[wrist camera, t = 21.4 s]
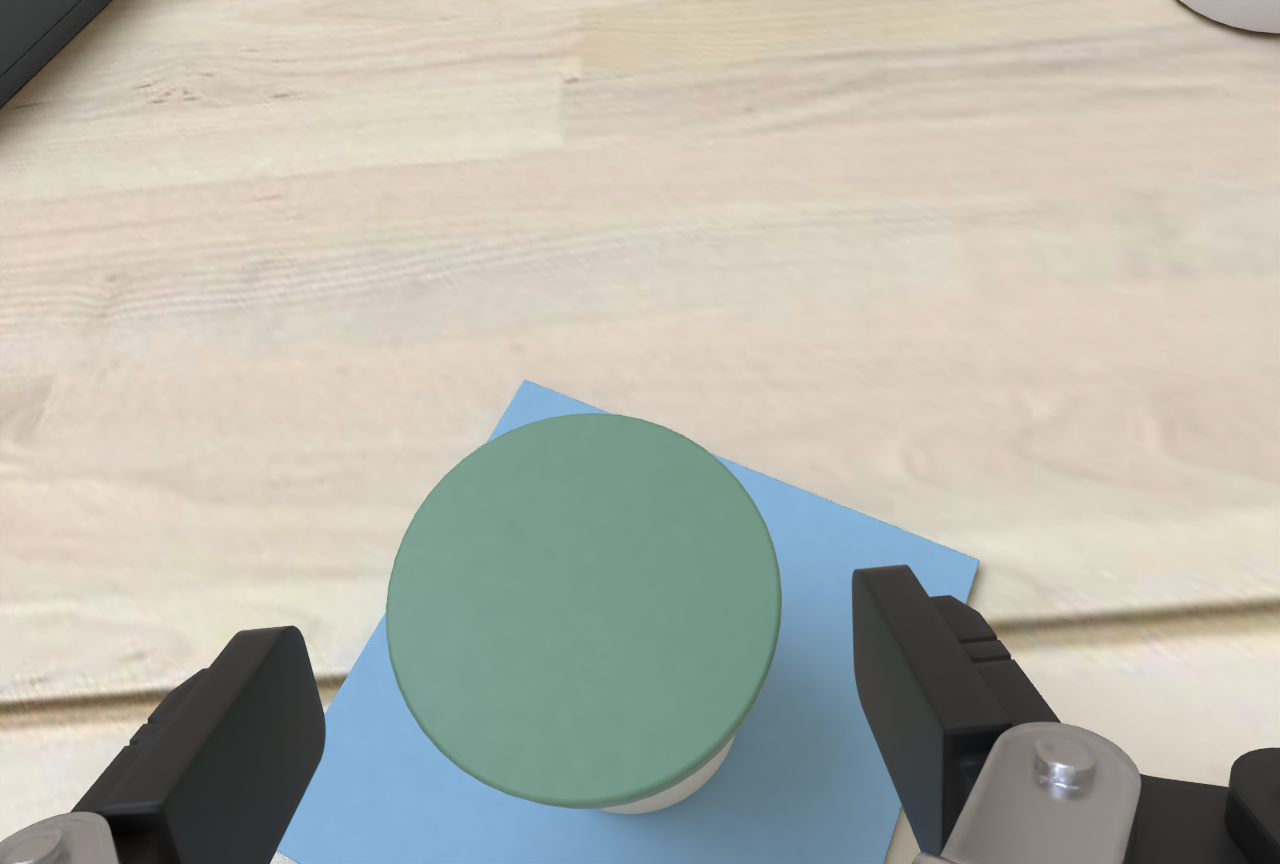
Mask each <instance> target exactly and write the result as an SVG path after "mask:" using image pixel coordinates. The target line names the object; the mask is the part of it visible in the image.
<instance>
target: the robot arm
mask: <svg viewBox="0 0 1280 864" xmlns="http://www.w3.org/2000/svg"><path fill="white" fill-rule="evenodd" d="M852 620H853V659H854V673H855V680H856V686H857V691H858V696H859V699H860V703H861V706H862V709H863V711H864V714H865V716H866V719H867V721H868V723H869V726H870V728H871V731H872V733H873V736H874V738H875V741H876V743H877V745H878V748H879V750H880V753H881V755H882V758H883V760H884V762H885V765H886V767H887V770H888V772H889V775H890V777H891V779H892V782H893V784H894V787H895V789H896V792H897V794H898V797H899V799H900V801H901V804H902V806H903V809H904V811H905V814H906V816H907V818H908V821H909V823H910V826H911V828H912V831H913V833H914V835H915V838H916V840H917V843H918V845H919V848H920V850H921V852H920V853H919V854H918V855H917V857H916V858H915V860H914V861H913V863H912V864H1280V748H1264V749H1258V750H1254V751H1250V752H1248V753H1246V754H1244V755H1242V756H1240V757H1239V758H1238V759H1237V760H1236V761H1235V762H1234V764H1233V766H1232V768H1231V773H1230V780H1229V787H1223V786H1216V785H1208V784H1201V783H1194V782H1186V781H1179V780H1171V779H1164V778H1158V777H1152V776H1147V775H1143V774H1140V773H1139V771H1138V769H1137V767H1136V765H1135V764H1134V762H1133V761H1132V760H1131V758H1130V757H1129V756H1128V755H1127V754H1126V753H1125V752H1124V751H1123V750H1122V749H1121V748H1119V747H1118V746H1117V745H1115V744H1114V743H1112V742H1111V741H1109V740H1107V739H1106V738H1104V737H1102V736H1100V735H1098V734H1096V733H1094V732H1091V731H1089V730H1086V729H1083V728H1080V727H1077V726H1072V725H1068V724H1063V723H1061V722H1060V720H1059V719H1058V718H1057V716H1056V715H1055V714H1054V712H1053V711H1052V710H1051V708H1050V707H1049V706H1048V704H1047V703H1046V702H1045V700H1044V699H1043V698H1042V696H1041V695H1040V694H1039V692H1038V691H1037V689H1036V688H1035V687H1034V685H1033V684H1032V683H1031V681H1030V680H1029V679H1028V677H1027V676H1026V675H1025V673H1024V672H1023V671H1022V669H1021V668H1020V667H1019V665H1018V664H1017V663H1016V661H1015V660H1012V659H1011V654H1010V653H1009V652H1008V650H1007V649H1006V648H1005V646H1004V645H1003V644H1002V642H1001V641H1000V640H997V636H996V634H995V633H994V632H993V630H992V629H991V627H990V626H989V625H988V623H987V622H986V621H985V619H984V618H983V617H982V615H981V614H980V613H979V612H977V611H976V610H974V609H972V608H971V607H969V606H968V605H966V604H964V603H963V602H961V601H959V600H958V599H956V598H955V597H953V596H951V595H944V596H934V597H929V596H928V594H927V593H926V591H925V589H924V588H923V586H922V585H921V583H920V582H919V580H918V579H917V577H916V576H915V574H914V573H913V571H912V570H911V568H910V567H909V566H908V565H906V564H902V565H892V566H882V567H872V568H862V569H855V570H854V571H853V574H852ZM325 739H326V723H325V716H324V712H323V708H322V704H321V701H320V697H319V693H318V689H317V686H316V682H315V678H314V674H313V671H312V667H311V663H310V659H309V656H308V652H307V648H306V645H305V641H304V638H303V636H302V633H301V632H300V630H299V629H298V628H297V627H295V626H283V627H273V628H263V629H252V630H243V631H240V632H238V633H237V634H236V635H235V636H234V637H233V638H232V639H231V641H230V642H229V643H228V644H227V646H226V647H225V648H224V649H223V651H222V652H221V653H220V654H219V656H218V657H217V658H216V659H215V661H214V662H213V663H212V664H211V666H210V667H209V668H207V669H202V670H200V671H199V672H197V673H196V674H195V675H193V676H192V677H191V678H189V679H188V680H186V681H185V682H184V683H182V684H181V685H179V686H178V687H177V688H175V689H174V690H173V691H171V692H170V693H169V694H168V695H167V696H166V697H165V699H164V700H163V701H162V702H161V703H160V705H159V706H158V707H157V708H156V709H155V711H154V712H153V713H152V714H151V715H150V717H149V718H148V723H147V724H143V725H142V726H141V727H140V729H139V730H138V731H137V732H136V733H135V735H134V736H133V737H132V738H131V739H130V745H129V746H125V747H124V748H123V749H122V750H121V752H120V753H119V754H118V755H117V756H116V758H115V759H114V760H113V761H112V762H111V764H110V765H109V766H108V767H107V768H106V770H105V771H104V772H103V773H102V774H101V776H100V777H99V778H98V779H97V780H96V782H95V783H94V784H93V785H92V786H91V788H90V789H89V790H88V791H87V792H86V794H85V795H84V796H83V797H82V798H81V800H80V801H79V802H78V803H77V804H76V806H75V807H74V808H73V809H72V811H71V812H70V813H66V814H61V815H57V816H54V817H51V818H47V819H44V820H42V821H39V822H37V823H34V824H32V825H30V826H28V827H26V828H24V829H22V830H20V831H18V832H16V833H15V834H13V835H11V836H9V837H8V838H6V839H5V840H3V841H2V842H0V864H270V862H271V860H272V858H273V856H274V854H275V852H276V850H277V848H278V846H279V844H280V842H281V840H282V838H283V836H284V834H285V832H286V830H287V828H288V826H289V824H290V822H291V820H292V818H293V816H294V814H295V812H296V810H297V808H298V806H299V804H300V802H301V800H302V798H303V796H304V794H305V792H306V790H307V788H308V786H309V784H310V782H311V780H312V778H313V776H314V774H315V772H316V769H317V767H318V765H319V763H320V761H321V759H322V756H323V752H324V747H325Z"/></svg>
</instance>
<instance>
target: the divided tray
mask: <svg viewBox="0 0 1280 864" xmlns="http://www.w3.org/2000/svg"><path fill="white" fill-rule="evenodd" d="M110 1H111V0H0V107H1V106H2V105H3V104H5V103H6V102H7V101H8V100H9V99H10V98H11V97H12V96H13V95H14V94H15V93H16V92H17V91H18V90H19V89H20V88H21V87H22V86H23V85H24V84H25V83H26V82H27V81H28V80H29V79H30V78H31V77H32V76H33V75H34V74H35V73H37V72H38V71H39V70H40V69H41V68H42V67H43V66H44V65H45V64H46V63H47V62H48V61H49V60H50V59H51V58H52V57H53V56H54V55H55V54H56V53H57V52H58V51H59V50H60V49H61V48H62V47H63V46H64V45H65V44H66V43H67V42H68V41H70V40H71V39H72V38H73V37H74V36H75V35H76V34H77V33H78V32H79V31H80V30H81V29H82V28H83V27H84V26H85V25H86V24H87V23H88V22H89V21H90V20H91V19H92V18H93V17H94V16H95V15H96V14H97V13H98V12H99V11H100V10H102V9H103V8H104V7H105V6H106V5H107V4H108V3H109V2H110Z"/></svg>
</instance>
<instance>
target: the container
mask: <svg viewBox="0 0 1280 864" xmlns="http://www.w3.org/2000/svg"><path fill="white" fill-rule="evenodd" d="M781 608H782V591H781V580H780V570H779V565H778V561H777V557H776V552H775V548H774V544H773V542H772V539H771V536H770V534H769V531H768V528H767V526H766V523H765V521H764V519H763V517H762V515H761V514H760V512H759V510H758V508H757V506H756V504H755V502H754V501H753V499H752V498H751V497H750V495H749V494H748V492H747V491H746V490H745V488H744V487H743V485H742V484H741V483H740V481H739V480H738V479H737V478H736V477H735V476H734V475H733V474H732V473H731V472H730V471H729V470H728V468H727V467H726V466H725V465H724V464H723V463H721V462H720V461H719V460H718V459H717V458H715V457H714V456H713V455H712V454H710V453H709V452H708V451H707V450H706V449H704V448H703V447H701V446H699V445H698V444H696V443H695V442H693V441H691V440H690V439H688V438H687V437H685V436H683V435H681V434H679V433H676V432H674V431H672V430H670V429H668V428H666V427H664V426H660V425H657V424H654V423H651V422H648V421H645V420H642V419H637V418H632V417H627V416H622V415H614V414H600V413H588V414H570V415H564V416H558V417H552V418H547V419H543V420H540V421H536V422H533V423H529V424H526V425H524V426H521V427H519V428H516V429H514V430H511V431H509V432H506V433H504V434H502V435H500V436H499V437H497V438H495V439H493V440H491V441H490V442H488V443H486V444H484V445H483V446H481V447H480V448H478V449H477V450H476V451H474V452H473V453H471V454H470V455H468V456H467V457H466V458H464V459H463V460H462V461H461V462H460V463H459V464H458V465H456V466H455V467H454V468H453V469H452V470H451V471H450V472H449V473H447V474H446V475H445V477H444V478H443V479H442V480H441V481H440V482H439V483H438V484H437V486H436V487H435V488H434V489H433V490H432V491H431V492H430V494H429V495H428V496H427V498H426V499H425V501H424V502H423V504H422V505H421V507H420V508H419V509H418V511H417V512H416V514H415V516H414V518H413V520H412V521H411V523H410V525H409V527H408V529H407V531H406V533H405V535H404V537H403V540H402V542H401V545H400V547H399V550H398V553H397V555H396V558H395V561H394V565H393V569H392V573H391V577H390V581H389V587H388V596H387V604H386V636H387V643H388V649H389V656H390V661H391V665H392V668H393V672H394V675H395V679H396V682H397V685H398V688H399V690H400V692H401V694H402V696H403V699H404V701H405V703H406V705H407V707H408V709H409V711H410V713H411V714H412V716H413V717H414V719H415V720H416V722H417V724H418V725H419V727H420V728H421V730H422V731H423V733H424V734H425V735H426V736H427V737H428V738H429V739H430V741H431V742H432V743H433V744H434V745H435V746H436V748H437V749H438V750H439V751H440V752H441V753H442V754H443V755H445V756H446V757H447V758H448V759H449V760H450V761H451V762H453V763H454V764H455V765H456V766H457V767H458V768H460V769H461V770H462V771H464V772H466V773H467V774H469V775H470V776H472V777H473V778H475V779H477V780H478V781H480V782H481V783H483V784H485V785H487V786H489V787H492V788H494V789H496V790H498V791H501V792H503V793H505V794H507V795H510V796H514V797H517V798H521V799H525V800H528V801H532V802H535V803H539V804H543V805H547V806H554V807H562V808H570V809H599V810H603V811H606V812H611V813H619V814H642V813H648V812H654V811H658V810H661V809H664V808H667V807H670V806H672V805H674V804H676V803H678V802H680V801H683V800H684V799H686V798H687V797H689V796H690V795H692V794H693V793H695V792H696V791H697V790H698V789H700V788H701V787H702V786H703V785H704V784H705V783H706V782H708V780H709V779H710V778H711V777H712V776H713V775H714V773H715V772H716V771H717V770H718V768H719V767H720V765H721V764H722V762H723V761H724V759H725V758H726V756H727V754H728V752H729V750H730V748H731V746H732V744H733V741H734V738H735V735H736V733H737V732H738V731H739V729H740V727H741V726H742V724H743V723H744V721H745V720H746V718H747V717H748V715H749V714H750V712H751V711H752V709H753V707H754V705H755V703H756V701H757V698H758V696H759V694H760V692H761V690H762V688H763V686H764V683H765V681H766V678H767V675H768V672H769V669H770V666H771V663H772V660H773V657H774V654H775V651H776V647H777V641H778V635H779V630H780V624H781Z"/></svg>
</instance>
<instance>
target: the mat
mask: <svg viewBox="0 0 1280 864" xmlns="http://www.w3.org/2000/svg"><path fill="white" fill-rule="evenodd" d="M588 413H600V414H610V413H608V412H605V411H603V410H600V409H598V408H595V407H593V406H590V405H588V404H585V403H583V402H580V401H578V400H575V399H572V398H570V397H567V396H565V395H562V394H560V393H557V392H555V391H552V390H550V389H547V388H545V387H542V386H540V385H537V384H535V383H532V382H530V381H527V380H524V381H523V383H522V385H521V386H520V388H519V390H518V391H517V393H516V395H515V396H514V398H513V400H512V401H511V403H510V405H509V407H508V408H507V410H506V412H505V413H504V415H503V417H502V418H501V420H500V422H499V423H498V425H497V427H496V428H495V430H494V432H493V433H492V435H491V437H490V438H489V440H488V442H490V441H491V440H493V439H495V438H497V437H499V436H500V435H502V434H504V433H506V432H509V431H511V430H514V429H516V428H519V427H521V426H524V425H526V424H529V423H533V422H536V421H540V420H543V419H547V418H552V417H558V416H564V415H570V414H588ZM488 442H487V443H488ZM710 454H711V453H710ZM712 455H713V454H712ZM713 456H714V457H715V458H717V459H718V460H719V461H720V462H721V463H723V464H724V465H725V466H726V467H727V468H728V470H729V471H730V472H731V473H732V474H733V475H734V476H735V477H736V478H737V479H738V480H739V481H740V483H741V484H742V485H743V487H744V488H745V490H746V491H747V492H748V494H749V495H750V497H751V498H752V499H753V501H754V502H755V504H756V506H757V508H758V510H759V512H760V514H761V515H762V517H763V519H764V521H765V523H766V526H767V528H768V531H769V534H770V536H771V539H772V542H773V544H774V548H775V552H776V557H777V561H778V565H779V570H780V580H781V591H782V608H781V624H780V630H779V635H778V641H777V647H776V651H775V654H774V657H773V660H772V663H771V666H770V669H769V672H768V675H767V678H766V681H765V683H764V686H763V688H762V690H761V692H760V694H759V696H758V698H757V701H756V703H755V705H754V707H753V709H752V711H751V712H750V714H749V715H748V717H747V718H746V720H745V721H744V723H743V724H742V726H741V727H740V729H739V731H738V732H737V733H736V735H735V738H734V741H733V744H732V746H731V748H730V750H729V752H728V754H727V756H726V758H725V759H724V761H723V762H722V764H721V765H720V767H719V768H718V770H717V771H716V772H715V773H714V775H713V776H712V777H711V778H710V779H709V780H708V782H706V783H705V784H704V785H703V786H702V787H701V788H700V789H698V790H697V791H696V792H695V793H693V794H692V795H690V796H689V797H687V798H686V799H684V800H683V801H680V802H678V803H676V804H674V805H672V806H670V807H667V808H664V809H661V810H658V811H654V812H648V813H642V814H619V813H611V812H606V811H603V810H599V809H570V808H562V807H554V806H547V805H543V804H539V803H535V802H532V801H528V800H525V799H521V798H517V797H514V796H510V795H507V794H505V793H503V792H501V791H498V790H496V789H494V788H492V787H489V786H487V785H485V784H483V783H481V782H480V781H478V780H477V779H475V778H473V777H472V776H470V775H469V774H467V773H466V772H464V771H462V770H461V769H460V768H458V767H457V766H456V765H455V764H454V763H453V762H451V761H450V760H449V759H448V758H447V757H446V756H445V755H443V754H442V753H441V752H440V751H439V750H438V749H437V748H436V746H435V745H434V744H433V743H432V742H431V741H430V739H429V738H428V737H427V736H426V735H425V734H424V733H423V731H422V730H421V728H420V727H419V725H418V724H417V722H416V720H415V719H414V717H413V716H412V714H411V713H410V711H409V709H408V707H407V705H406V703H405V701H404V699H403V696H402V694H401V692H400V690H399V688H398V685H397V682H396V679H395V675H394V672H393V668H392V665H391V661H390V656H389V649H388V643H387V636H386V613H385V614H384V616H383V618H382V620H381V621H380V623H379V625H378V626H377V628H376V630H375V631H374V633H373V635H372V636H371V638H370V640H369V641H368V643H367V645H366V646H365V648H364V650H363V651H362V653H361V655H360V656H359V658H358V660H357V661H356V663H355V665H354V666H353V668H352V670H351V672H350V673H349V675H348V677H347V678H346V680H345V682H344V683H343V685H342V687H341V688H340V690H339V692H338V693H337V695H336V697H335V698H334V700H333V702H332V703H331V705H330V707H329V708H328V710H327V712H326V713H325V715H324V716H325V723H326V739H325V747H324V752H323V756H322V759H321V761H320V763H319V765H318V767H317V769H316V772H315V774H314V776H313V778H312V780H311V782H310V784H309V786H308V788H307V790H306V792H305V794H304V796H303V798H302V800H301V802H300V804H299V806H298V808H297V810H296V812H295V814H294V816H293V818H292V820H291V822H290V824H289V826H288V828H287V830H286V832H285V834H284V836H283V838H282V840H281V842H280V844H279V846H278V848H277V851H278V852H280V853H282V854H283V855H285V856H287V857H288V858H290V859H292V860H293V861H295V862H297V863H298V864H883V863H884V860H885V857H886V854H887V851H888V847H889V844H890V841H891V838H892V835H893V832H894V829H895V825H896V822H897V819H898V816H899V813H900V810H901V807H902V804H901V801H900V799H899V797H898V794H897V792H896V789H895V787H894V784H893V782H892V779H891V777H890V775H889V772H888V770H887V767H886V765H885V762H884V760H883V758H882V755H881V753H880V750H879V748H878V745H877V743H876V741H875V738H874V736H873V733H872V731H871V728H870V726H869V723H868V721H867V719H866V716H865V714H864V711H863V709H862V706H861V703H860V699H859V696H858V691H857V686H856V680H855V673H854V659H853V620H852V574H853V571H854V570H855V569H862V568H872V567H882V566H892V565H902V564H906V565H908V566H909V567H910V568H911V570H912V571H913V573H914V574H915V576H916V577H917V579H918V580H919V582H920V583H921V585H922V586H923V588H924V589H925V591H926V593H927V594H928V596H929V597H934V596H944V595H951V596H953V597H955V598H956V599H958V600H959V601H961V602H963V603H964V604H966V603H967V600H968V596H969V593H970V590H971V587H972V584H973V581H974V578H975V574H976V571H977V568H978V565H979V560H978V559H975V558H973V557H970V556H968V555H965V554H963V553H960V552H958V551H955V550H953V549H950V548H948V547H945V546H943V545H940V544H938V543H935V542H933V541H930V540H927V539H925V538H922V537H920V536H917V535H915V534H912V533H910V532H907V531H905V530H902V529H900V528H897V527H895V526H892V525H890V524H887V523H885V522H882V521H880V520H877V519H875V518H872V517H870V516H867V515H865V514H862V513H859V512H857V511H854V510H852V509H849V508H847V507H844V506H842V505H839V504H837V503H834V502H832V501H829V500H827V499H824V498H822V497H819V496H817V495H814V494H812V493H809V492H807V491H804V490H802V489H799V488H797V487H794V486H792V485H789V484H786V483H784V482H781V481H779V480H776V479H774V478H771V477H769V476H766V475H764V474H761V473H759V472H756V471H754V470H751V469H749V468H746V467H744V466H741V465H739V464H736V463H734V462H731V461H729V460H726V459H724V458H721V457H719V456H716V455H713Z"/></svg>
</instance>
